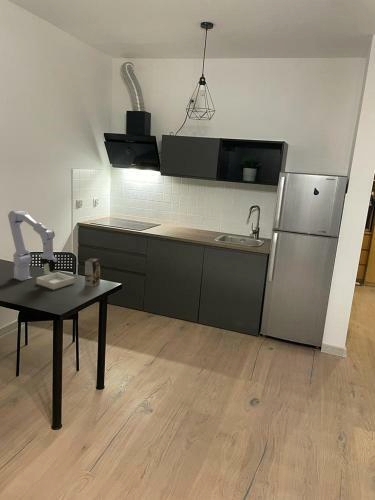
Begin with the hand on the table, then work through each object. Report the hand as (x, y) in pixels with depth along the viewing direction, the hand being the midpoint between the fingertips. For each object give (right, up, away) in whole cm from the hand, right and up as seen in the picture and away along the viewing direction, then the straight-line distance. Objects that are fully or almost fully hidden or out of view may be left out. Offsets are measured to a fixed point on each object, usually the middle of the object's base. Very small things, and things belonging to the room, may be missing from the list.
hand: (48, 270), depth 226 cm
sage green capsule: (0, -2, 0) cm, 2 cm away
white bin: (+3, -8, +4) cm, 10 cm away
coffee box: (+25, -9, +8) cm, 28 cm away
